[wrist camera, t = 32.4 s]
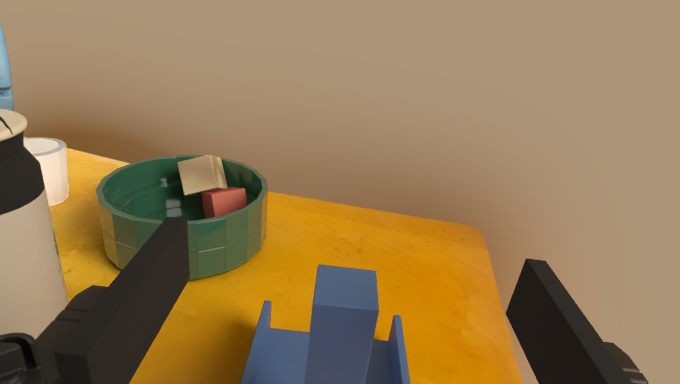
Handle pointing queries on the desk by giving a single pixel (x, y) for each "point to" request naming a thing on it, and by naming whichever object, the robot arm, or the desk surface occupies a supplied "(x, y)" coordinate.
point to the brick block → (223, 201)
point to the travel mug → (26, 238)
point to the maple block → (202, 175)
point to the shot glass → (51, 166)
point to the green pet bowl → (180, 214)
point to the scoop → (331, 338)
